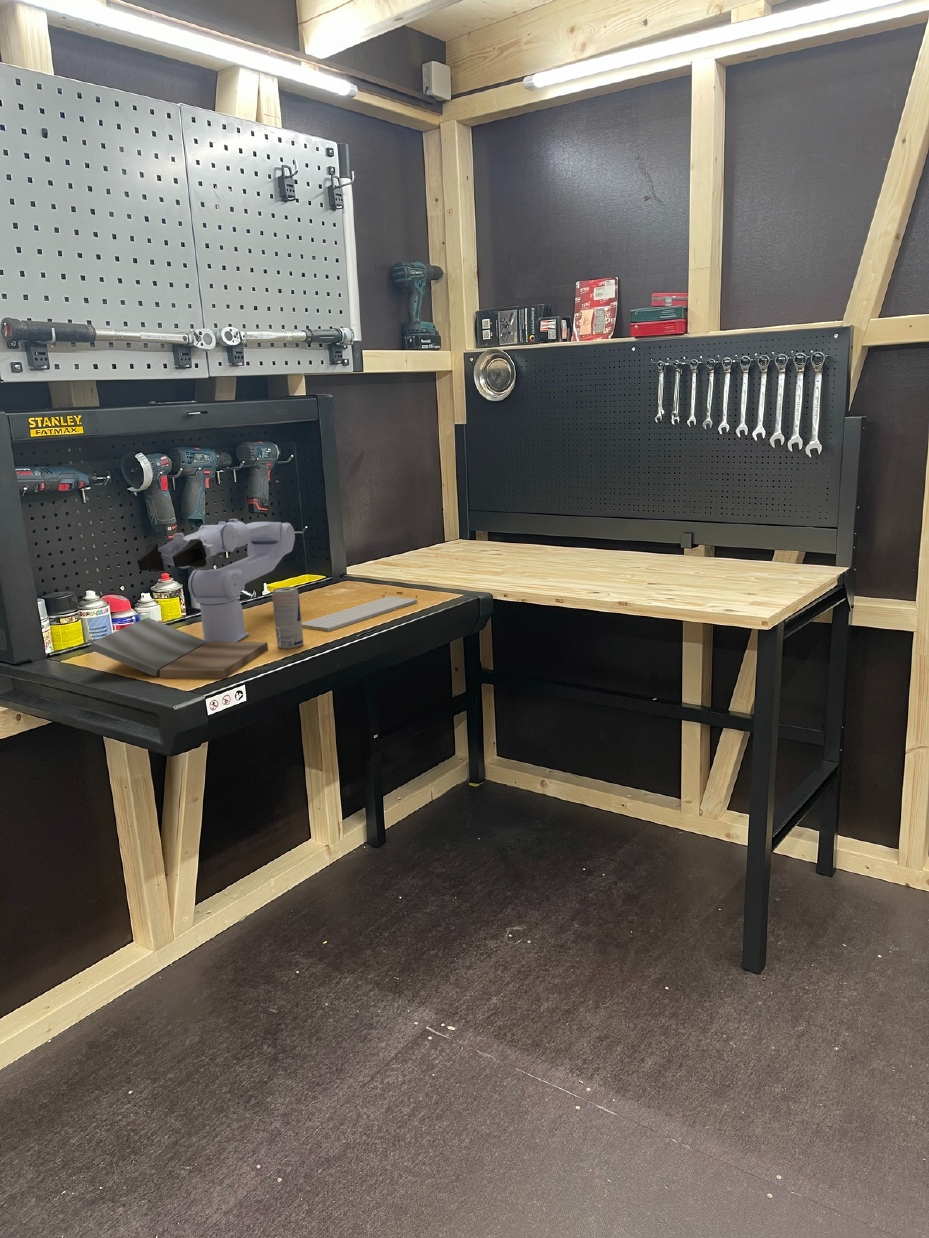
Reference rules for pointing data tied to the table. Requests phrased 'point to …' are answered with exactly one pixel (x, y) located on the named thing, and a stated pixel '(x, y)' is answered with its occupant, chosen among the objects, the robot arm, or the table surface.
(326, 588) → the table surface
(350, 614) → the baseboard molding
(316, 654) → the table surface
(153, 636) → the plank
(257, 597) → the table surface
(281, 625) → the energy drink
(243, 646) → the laid board
